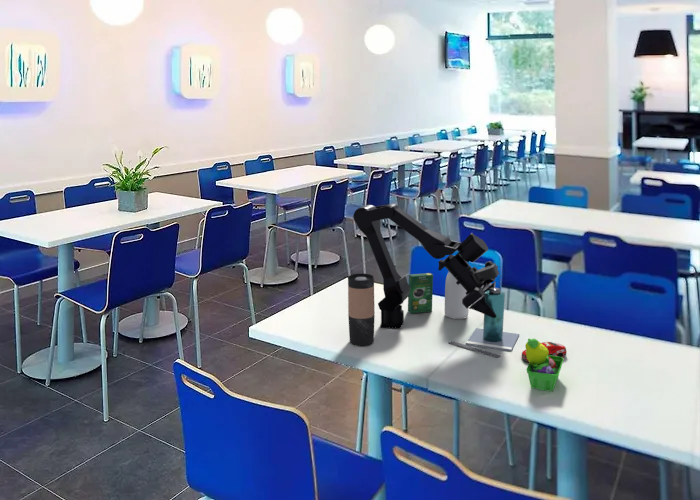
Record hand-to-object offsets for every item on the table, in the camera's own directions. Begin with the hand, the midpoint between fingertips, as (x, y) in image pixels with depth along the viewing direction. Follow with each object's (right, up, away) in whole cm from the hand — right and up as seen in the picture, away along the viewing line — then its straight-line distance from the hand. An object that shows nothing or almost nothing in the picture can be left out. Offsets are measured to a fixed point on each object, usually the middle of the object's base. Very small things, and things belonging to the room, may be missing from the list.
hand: (498, 312), depth 178 cm
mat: (-1, -8, +3) cm, 9 cm away
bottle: (-1, -8, +3) cm, 8 cm away
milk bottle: (-8, -4, +24) cm, 25 cm away
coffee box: (-20, -3, +28) cm, 34 cm away
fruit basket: (+5, -15, -24) cm, 29 cm away
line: (-8, -10, -4) cm, 14 cm away
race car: (+10, -12, -10) cm, 18 cm away
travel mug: (-40, -9, +3) cm, 41 cm away
